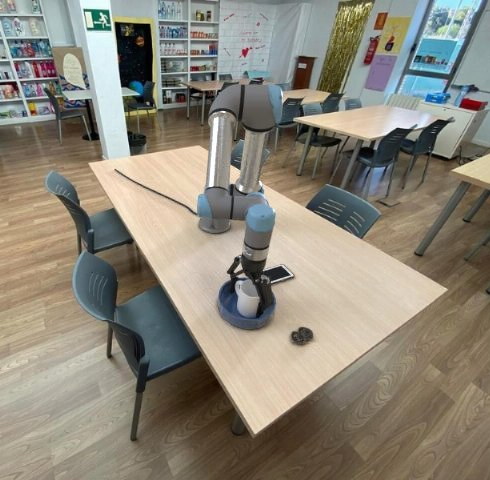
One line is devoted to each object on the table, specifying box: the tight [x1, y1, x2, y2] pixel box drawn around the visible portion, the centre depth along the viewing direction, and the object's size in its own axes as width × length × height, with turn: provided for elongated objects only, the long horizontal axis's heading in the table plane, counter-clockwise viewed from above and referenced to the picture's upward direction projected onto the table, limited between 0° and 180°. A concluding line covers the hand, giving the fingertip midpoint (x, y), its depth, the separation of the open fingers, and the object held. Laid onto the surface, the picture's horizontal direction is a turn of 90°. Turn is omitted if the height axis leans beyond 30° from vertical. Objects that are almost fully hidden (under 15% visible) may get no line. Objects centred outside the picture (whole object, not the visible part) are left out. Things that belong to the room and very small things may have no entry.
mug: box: [235, 279, 260, 318], centre depth 95 cm, size 12×8×10 cm
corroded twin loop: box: [290, 326, 314, 345], centre depth 88 cm, size 5×8×1 cm, turn 118°
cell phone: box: [257, 263, 295, 285], centre depth 110 cm, size 8×15×1 cm, turn 112°
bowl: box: [217, 276, 277, 330], centre depth 97 cm, size 19×19×5 cm
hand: (245, 302), depth 97 cm, fingers closed on mug, 12 cm apart
